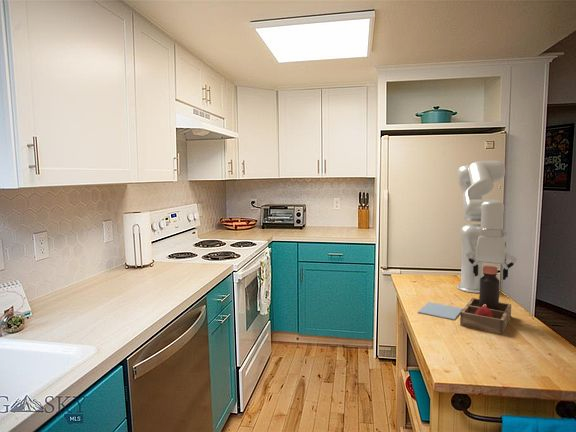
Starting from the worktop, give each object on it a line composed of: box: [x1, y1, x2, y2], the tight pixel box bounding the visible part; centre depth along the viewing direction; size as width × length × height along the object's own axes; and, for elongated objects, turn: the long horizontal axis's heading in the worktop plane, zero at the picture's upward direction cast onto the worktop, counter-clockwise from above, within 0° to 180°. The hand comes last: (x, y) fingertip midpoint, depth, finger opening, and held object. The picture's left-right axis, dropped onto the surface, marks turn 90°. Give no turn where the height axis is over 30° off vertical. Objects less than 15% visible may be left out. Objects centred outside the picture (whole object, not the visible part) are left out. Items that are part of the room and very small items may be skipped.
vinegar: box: [478, 265, 501, 310], centre depth 147 cm, size 7×7×20 cm
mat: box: [417, 301, 464, 321], centre depth 156 cm, size 14×14×1 cm
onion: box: [475, 304, 493, 318], centre depth 140 cm, size 6×6×8 cm
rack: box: [459, 297, 512, 335], centre depth 144 cm, size 20×14×5 cm
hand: (490, 277), depth 146 cm, fingers open, 9 cm apart
